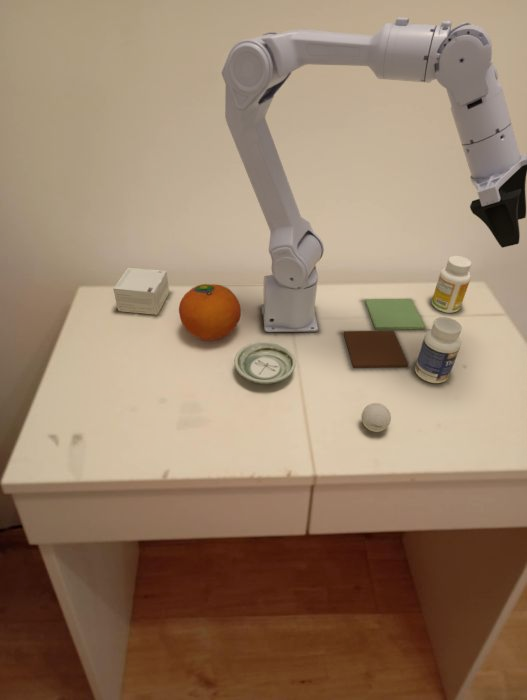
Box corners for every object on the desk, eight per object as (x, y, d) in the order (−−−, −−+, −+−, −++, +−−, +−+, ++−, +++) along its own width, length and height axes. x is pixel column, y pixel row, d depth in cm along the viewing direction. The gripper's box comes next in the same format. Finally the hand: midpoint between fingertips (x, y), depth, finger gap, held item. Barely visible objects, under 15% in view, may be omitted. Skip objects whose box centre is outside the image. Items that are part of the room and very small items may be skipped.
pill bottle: (443, 389, 73) (461, 340, 67) (409, 376, 75) (424, 327, 69) (452, 369, 77) (470, 321, 71) (420, 357, 79) (435, 310, 73)
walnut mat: (353, 367, 77) (353, 365, 76) (343, 333, 84) (343, 331, 83) (407, 367, 77) (408, 364, 77) (393, 333, 84) (394, 330, 84)
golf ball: (380, 413, 69) (385, 394, 66) (392, 434, 66) (398, 415, 64) (355, 419, 68) (359, 400, 66) (367, 440, 65) (371, 421, 63)
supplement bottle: (456, 298, 93) (471, 254, 87) (462, 314, 89) (479, 269, 83) (429, 296, 93) (442, 252, 87) (433, 312, 89) (447, 267, 83)
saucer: (226, 385, 73) (226, 374, 71) (244, 347, 80) (244, 336, 78) (287, 398, 71) (288, 386, 69) (300, 358, 78) (301, 346, 77)
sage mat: (375, 329, 85) (376, 327, 84) (364, 301, 91) (365, 299, 91) (424, 329, 85) (425, 326, 85) (410, 301, 92) (411, 298, 92)
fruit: (249, 341, 81) (249, 302, 76) (190, 355, 78) (186, 316, 73) (229, 308, 89) (227, 271, 84) (175, 319, 86) (170, 281, 80)
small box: (131, 289, 93) (127, 266, 90) (170, 292, 92) (167, 270, 89) (117, 311, 87) (111, 288, 84) (158, 315, 86) (154, 292, 83)
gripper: (514, 138, 50) (543, 249, 56) (528, 102, 60) (552, 199, 65) (448, 163, 55) (481, 263, 61) (470, 125, 64) (497, 215, 70)
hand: (514, 231), depth 63 cm, fingers open, 7 cm apart
